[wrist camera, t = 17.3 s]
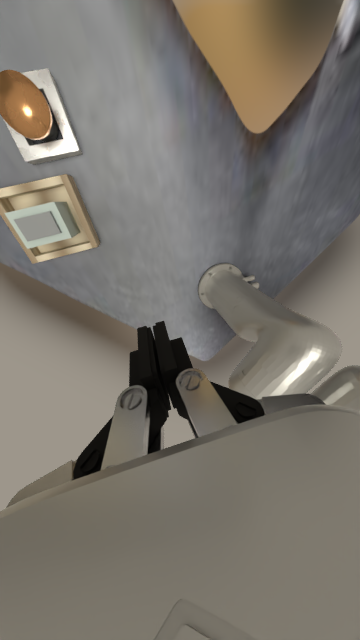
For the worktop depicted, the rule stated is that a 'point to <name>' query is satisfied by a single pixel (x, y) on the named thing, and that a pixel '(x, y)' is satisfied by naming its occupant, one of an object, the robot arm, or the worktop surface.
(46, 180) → the bay
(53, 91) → the plunger base
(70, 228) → the pale green box
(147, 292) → the worktop surface
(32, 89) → the plunger
